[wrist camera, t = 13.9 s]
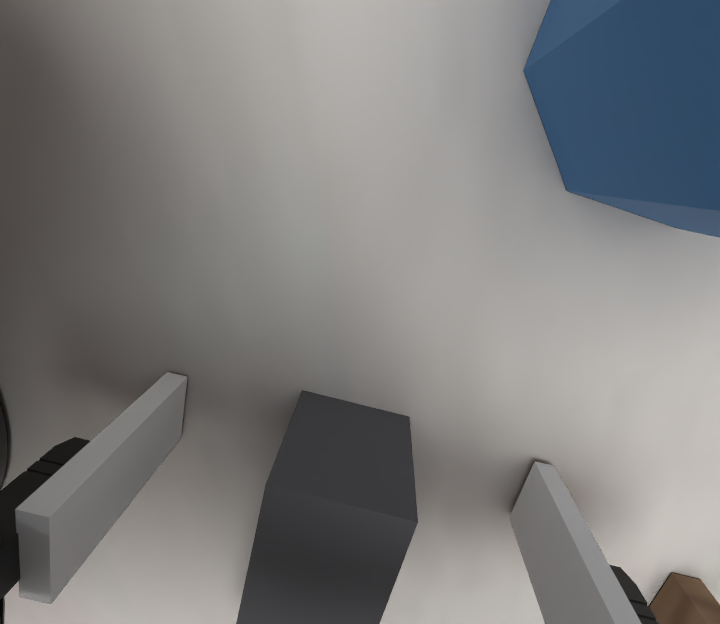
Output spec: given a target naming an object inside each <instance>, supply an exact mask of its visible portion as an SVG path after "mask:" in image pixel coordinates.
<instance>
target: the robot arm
mask: <svg viewBox="0 0 720 624" xmlns="http://www.w3.org/2000/svg"><path fill="white" fill-rule="evenodd" d="M186 386H187V377H186V376H182V375H177V374H173V373H169V372H167V373H166V374H164V375H163V376H162V377H161V378H160V379H159V380H158V381H157V382H156V383H154V384H153V385H152V386H151V387H150V388H149V389H148V390H147V391H146V392H145V393H143V394H142V395H141V396H140V397H139V398H138V399H137V400H136V401H135V402H133V403H132V404H131V405H130V406H129V407H128V408H127V409H126V410H125V411H123V412H122V413H121V414H120V415H119V416H118V417H117V418H116V419H115V420H113V421H112V422H111V423H110V424H109V425H108V426H107V427H106V428H105V429H104V430H102V431H101V432H100V433H99V434H98V435H97V436H96V437H95V438H94V439H92V440H91V441H89V440H85V439H81V438H76V437H74V438H72V439H70V440H67V441H65V442H63V443H61V444H59V445H56V446H55V447H53V448H52V449H51V450H50V451H48V452H47V453H46V454H45V455H44V456H42V457H41V458H40V460H39V461H36V462H35V463H34V464H33V465H31V466H30V467H29V468H28V469H27V471H26V472H25V471H24V472H23V473H22V474H21V475H19V476H18V477H17V478H16V479H14V480H13V481H12V482H11V483H10V484H8V485H7V486H6V487H5V488H3V489H2V490H1V491H0V624H4V612H5V600H4V596H5V595H6V594H7V593H8V592H9V590H10V589H11V588H12V587H13V586H14V585H15V584H16V583H17V582H18V581H19V594H20V597H22V598H26V599H31V600H35V601H39V602H43V603H47V604H51V603H52V602H53V601H54V600H55V598H56V597H57V596H58V594H59V593H60V592H61V591H62V589H63V588H64V587H65V585H66V584H67V583H68V582H69V580H70V579H71V578H72V577H73V575H74V574H75V573H76V571H77V570H78V569H79V568H80V566H81V565H82V564H83V563H84V561H85V560H86V559H87V557H88V556H89V555H90V554H91V552H92V551H93V550H94V548H95V547H96V546H97V545H98V543H99V542H100V541H101V540H102V538H103V537H104V536H105V534H106V533H107V532H108V531H109V529H110V528H111V527H112V526H113V524H114V523H115V522H116V520H117V519H118V518H119V517H120V515H121V514H122V513H123V511H124V510H125V509H126V508H127V506H128V505H129V504H130V503H131V501H132V500H133V499H134V497H135V496H136V495H137V494H138V492H139V491H140V490H141V488H142V487H143V486H144V485H145V483H146V482H147V481H148V480H149V478H150V477H151V476H152V474H153V473H154V472H155V471H156V469H157V468H158V467H159V466H160V464H161V463H162V462H163V460H164V459H165V458H166V457H167V455H168V454H169V453H170V451H171V450H172V449H173V448H174V446H175V445H176V444H177V443H178V441H179V440H180V439H181V432H182V423H183V414H184V404H185V395H186ZM6 463H7V434H6V427H5V421H4V416H3V413H2V409H1V405H0V487H1V484H2V481H3V478H4V474H5V469H6ZM509 518H510V521H511V524H512V527H513V530H514V533H515V536H516V539H517V542H518V545H519V548H520V551H521V554H522V557H523V560H524V563H525V566H526V569H527V571H528V574H529V577H530V580H531V583H532V586H533V589H534V592H535V595H536V598H537V601H538V604H539V607H540V610H541V613H542V616H543V619H544V622H545V624H659V622H656V617H655V616H654V614H653V612H652V611H651V609H650V607H648V606H647V602H646V600H645V599H644V597H643V595H642V594H641V592H640V590H639V589H638V587H637V585H636V584H635V583H634V582H633V581H632V580H631V579H630V577H629V576H628V575H627V574H626V573H625V572H624V571H623V570H622V569H621V568H620V567H616V566H612V565H609V564H608V562H607V560H606V558H605V556H604V555H603V553H602V551H601V549H600V547H599V545H598V544H597V542H596V540H595V538H594V536H593V535H592V533H591V531H590V529H589V527H588V526H587V524H586V522H585V520H584V518H583V516H582V515H581V513H580V511H579V509H578V507H577V506H576V504H575V502H574V500H573V498H572V497H571V495H570V493H569V491H568V489H567V487H566V486H565V484H564V482H563V480H562V478H561V477H560V475H559V473H558V471H557V469H556V468H555V466H552V465H548V464H544V463H540V462H536V461H535V462H534V464H533V466H532V468H531V471H530V473H529V475H528V477H527V479H526V482H525V484H524V486H523V488H522V490H521V493H520V495H519V497H518V499H517V501H516V504H515V506H514V508H513V510H512V513H511V515H510V517H509Z"/></svg>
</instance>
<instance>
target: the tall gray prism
mask: <svg viewBox="0 0 720 624" xmlns="http://www.w3.org/2000/svg"><path fill="white" fill-rule="evenodd" d="M417 523H418V518H417V506H416V493H415V481H414V469H413V456H412V444H411V431H410V419H409V417H408V416H404V415H400V414H396V413H392V412H388V411H384V410H380V409H376V408H372V407H368V406H364V405H360V404H356V403H352V402H348V401H344V400H340V399H336V398H332V397H328V396H323V395H319V394H315V393H311V392H307V391H302V393H301V396H300V398H299V401H298V403H297V406H296V409H295V411H294V414H293V416H292V419H291V421H290V424H289V427H288V429H287V432H286V434H285V437H284V439H283V442H282V444H281V447H280V450H279V452H278V455H277V457H276V460H275V462H274V465H273V468H272V470H271V473H270V475H269V478H268V480H267V483H266V486H265V491H264V496H263V500H262V505H261V510H260V515H259V519H258V524H257V529H256V533H255V538H254V543H253V548H252V552H251V557H250V562H249V567H248V571H247V576H246V581H245V585H244V590H243V595H242V600H241V604H240V609H239V614H238V619H237V623H236V624H379V623H380V621H381V618H382V616H383V613H384V610H385V608H386V605H387V602H388V600H389V597H390V594H391V592H392V589H393V586H394V584H395V581H396V578H397V576H398V573H399V571H400V568H401V565H402V563H403V560H404V557H405V555H406V552H407V549H408V547H409V544H410V541H411V539H412V536H413V533H414V531H415V528H416V526H417Z"/></svg>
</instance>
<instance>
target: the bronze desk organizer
mask: <svg viewBox="0 0 720 624" xmlns="http://www.w3.org/2000/svg"><path fill="white" fill-rule="evenodd" d="M649 607H650V609H651V611H652V612H653V614H654V616H655V617H656V622H659V624H720V605H719V603H718V602H717V601H716V599H715V598H714V597H713V595H712V594H711V593H710V591H709V590H708V589H707V587H706V586H705V585H704V583H703V582H702V581H701V580H700V579H696V578H692V577H687V576H683V575H679V574H675V573H671V575H670V576H669V578H668V579H667V581H666V582H665V584H664V585H663V587H662V588H661V590H660V591H659V593H658V594H657V596H656V597H655V599H654V600H653V602H652V603H651V605H650V606H649Z"/></svg>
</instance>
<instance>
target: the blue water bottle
mask: <svg viewBox="0 0 720 624" xmlns="http://www.w3.org/2000/svg"><path fill="white" fill-rule="evenodd" d="M524 73H525V76H526V79H527V82H528V84H529V87H530V90H531V93H532V95H533V98H534V101H535V104H536V107H537V109H538V112H539V115H540V118H541V120H542V123H543V126H544V129H545V132H546V134H547V137H548V140H549V143H550V145H551V148H552V151H553V154H554V157H555V159H556V162H557V165H558V168H559V170H560V173H561V176H562V179H563V182H564V184H565V187H566V190H567V191H569V192H572V193H575V194H578V195H581V196H583V197H586V198H589V199H592V200H595V201H598V202H601V203H604V204H607V205H610V206H613V207H616V208H619V209H622V210H625V211H628V212H631V213H634V214H637V215H639V216H642V217H645V218H648V219H651V220H654V221H657V222H660V223H663V224H666V225H669V226H672V227H675V228H678V229H682V230H687V231H692V232H697V233H701V234H706V235H711V236H715V237H720V0H551V2H550V4H549V7H548V10H547V12H546V15H545V17H544V20H543V22H542V25H541V27H540V30H539V32H538V35H537V37H536V40H535V42H534V45H533V48H532V50H531V53H530V55H529V58H528V60H527V63H526V65H525V68H524Z"/></svg>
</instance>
